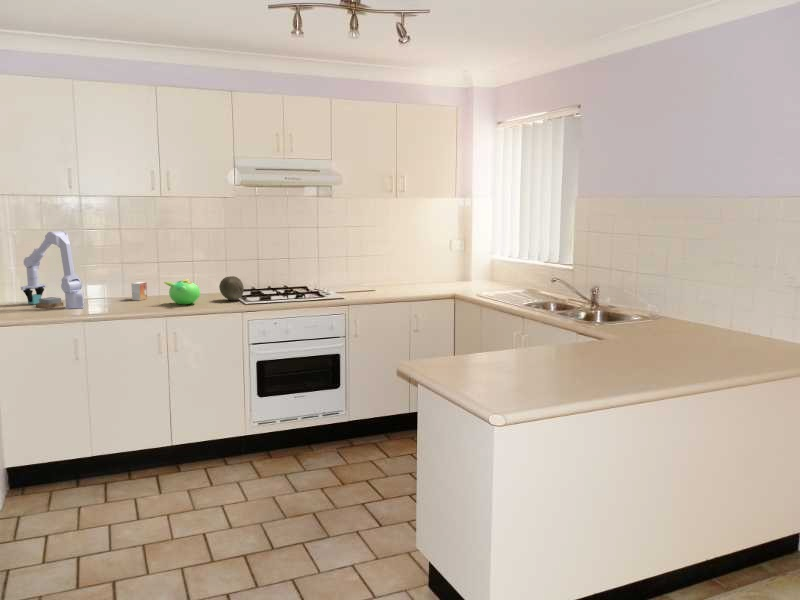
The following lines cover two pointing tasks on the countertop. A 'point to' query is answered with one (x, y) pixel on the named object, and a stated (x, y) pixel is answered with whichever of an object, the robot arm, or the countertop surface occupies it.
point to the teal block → (35, 299)
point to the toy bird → (183, 292)
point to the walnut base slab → (49, 305)
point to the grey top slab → (50, 300)
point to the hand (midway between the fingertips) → (34, 301)
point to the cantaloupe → (231, 288)
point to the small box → (139, 291)
